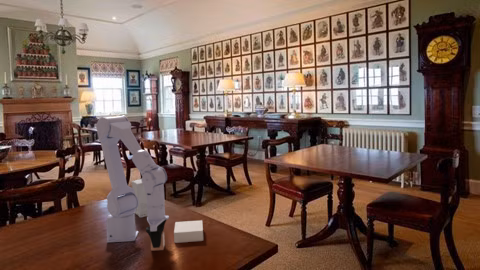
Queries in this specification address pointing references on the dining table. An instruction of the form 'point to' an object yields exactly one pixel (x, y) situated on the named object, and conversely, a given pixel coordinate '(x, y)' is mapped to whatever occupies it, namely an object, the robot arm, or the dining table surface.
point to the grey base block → (188, 231)
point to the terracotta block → (160, 244)
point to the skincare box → (140, 198)
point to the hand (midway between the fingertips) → (157, 243)
